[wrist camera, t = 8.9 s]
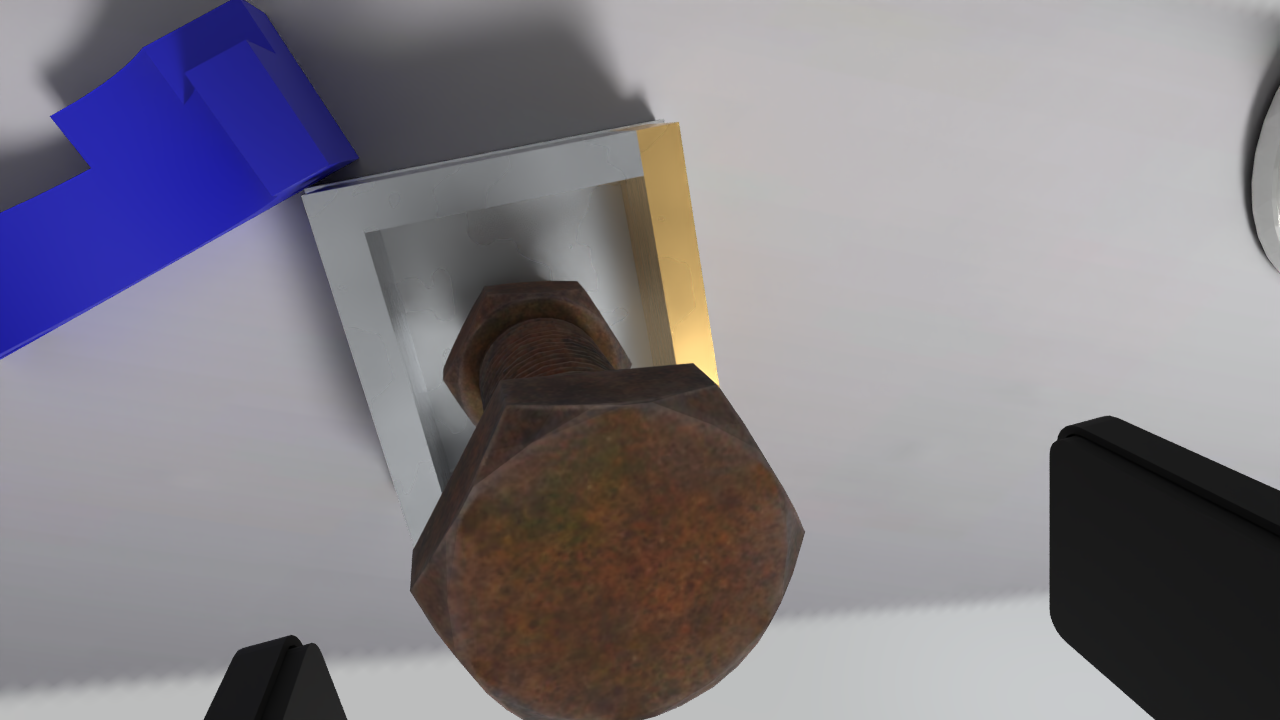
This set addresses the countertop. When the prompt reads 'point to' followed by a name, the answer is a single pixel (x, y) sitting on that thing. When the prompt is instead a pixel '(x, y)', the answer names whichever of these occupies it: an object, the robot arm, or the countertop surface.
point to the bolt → (596, 519)
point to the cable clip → (165, 167)
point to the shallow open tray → (504, 271)
